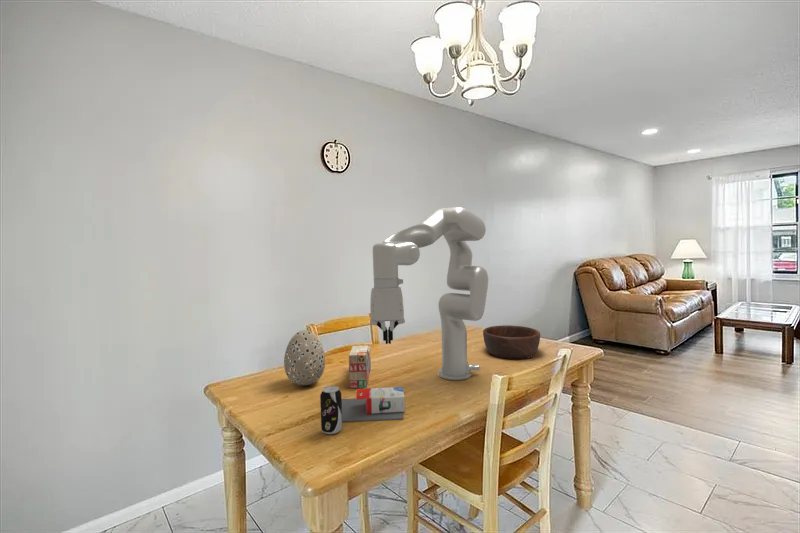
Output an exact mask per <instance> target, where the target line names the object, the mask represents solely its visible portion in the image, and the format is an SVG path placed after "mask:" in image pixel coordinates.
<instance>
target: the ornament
mask: <svg viewBox="0 0 800 533" xmlns="http://www.w3.org/2000/svg"><path fill="white" fill-rule="evenodd" d="M322 345H323V344H322V343H321V342H320V340H319V338H318V337H317V336H316V335H315V334H314V333H313V332H311V331H309V330H306V329H302V330H300V331H298V332H296V333H295V334H294V335H293V336H292V337H291V339H290V340H289V342H288V344H287V346H286V349H285V352H284V359H283V367H284V373H285V374H286V376H287V378H288V379H289V381H290V382H292V383H293V384H295V385H298V386H309V385H312V384H314V383H316V382H317V381H319V379H320V378H321V377H322V375H323V373H324V371H325V368H326V355H325V352H324V351H325V350H324V348H323V346H322Z"/></svg>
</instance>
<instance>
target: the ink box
mask: <svg viewBox="0 0 800 533" xmlns="http://www.w3.org/2000/svg"><path fill="white" fill-rule="evenodd" d="M355 398H356V400H362V399H366V413H367V414H374V413H391V412H402V413H405V412H406V397H405V393H404V390H403V387H402V386H398V387H397V386H395V387H378V388H377V387H375V388H374V387H373V388H371V387H370V388H358V389H356V396H355Z"/></svg>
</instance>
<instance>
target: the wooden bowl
mask: <svg viewBox="0 0 800 533" xmlns="http://www.w3.org/2000/svg"><path fill="white" fill-rule="evenodd" d="M482 335H483V342H484V346H485V348H486V350H487V352H488V353H489V354H492V356H493V355H494V356H493V357H496V356H497V357H496V358H500V357H502V358H501V359H506V358H512V359H511V360H523V359H522V358H525V359H529V358H528V357H530V358H532V357H533V356H535V354H537V351H538V348H539V346H540V341H541V332H540V331H539V330H537V329H535V328H532V327H528V326H522V325H509V324H508V325H507V324H505V325H504V324H503V325H494V326H488V327H486V328H483V331H482ZM531 356H532V357H531Z"/></svg>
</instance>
